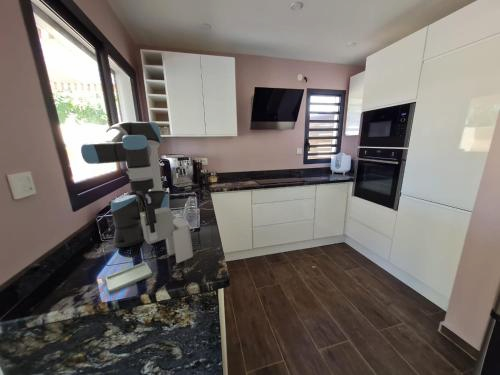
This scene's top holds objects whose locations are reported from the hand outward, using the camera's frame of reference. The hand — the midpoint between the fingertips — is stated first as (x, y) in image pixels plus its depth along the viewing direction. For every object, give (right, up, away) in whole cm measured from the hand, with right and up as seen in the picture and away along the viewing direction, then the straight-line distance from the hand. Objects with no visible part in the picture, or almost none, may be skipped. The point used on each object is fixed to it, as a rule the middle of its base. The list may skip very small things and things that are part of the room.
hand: (151, 236), depth 77 cm
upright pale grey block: (+2, -1, +2) cm, 3 cm away
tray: (-6, -14, -4) cm, 16 cm away
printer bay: (+8, -11, +10) cm, 17 cm away
